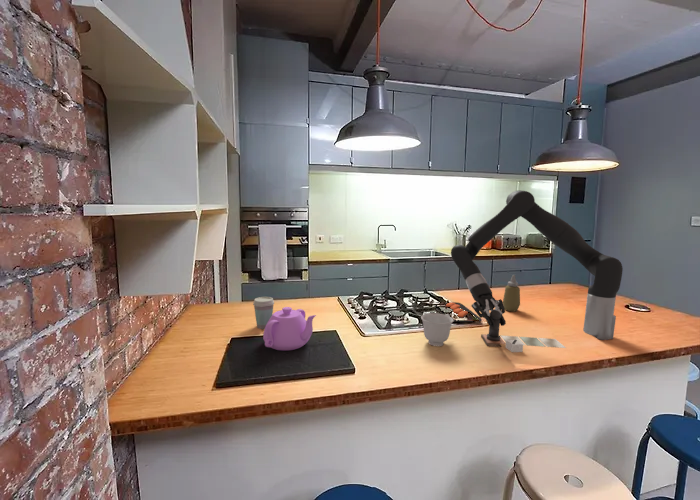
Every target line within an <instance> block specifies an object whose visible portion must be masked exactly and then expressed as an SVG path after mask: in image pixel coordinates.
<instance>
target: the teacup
mask: <svg viewBox="0 0 700 500" xmlns="http://www.w3.org/2000/svg"><path fill="white" fill-rule="evenodd" d="M439 313H440V312H436V313H427V312H426V313H423V314H422V315H421V316H420V319H421V320H422V326H423V335H424V338H425V339H426V340H427V341H428V344H429V345H431V346H432V347H433V346H434V347H443V345H444V343H445V342H446V341H447V340H448V339H449V336H450V333H451V327H452V323H453V322H455V321H454V319H453V318H452V317H450V315H449V314H445V315H444V313H442V314H439Z"/></svg>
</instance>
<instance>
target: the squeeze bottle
mask: <svg viewBox="0 0 700 500" xmlns="http://www.w3.org/2000/svg"><path fill="white" fill-rule="evenodd" d="M502 302H503V305H504V309H505V311H508V312H517V311H518V310H519V308H520V306H521V288H520V287H519V282H518V281H517V279H516V275H515V274H512V276H511V278H510V281H507V285H505V288H504V293H503V298H502Z"/></svg>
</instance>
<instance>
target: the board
mask: <svg viewBox="0 0 700 500" xmlns="http://www.w3.org/2000/svg"><path fill="white" fill-rule="evenodd" d="M499 336H500V341H491V340H488V339H487V334H483V333H482V334H480V338H481V339H482V340H483V342H484V344H485V345H486V346H487V347H495V348H496V347H498V348H502V347H503V346H502V345H506V340H517V341H519V342H521V343H522V344H523V346H531V347H542V348H543V347H547V348H560V349H561V348H562V349H567V347H566V346H564V344H562V343H561V342H560V341H559V340H557V339H556V338H547V337H546V338H545V337H531V336H530V337H529V336H528V337H527V336H517V335H516V336H515V335H514V336H513V335H500V334H499Z"/></svg>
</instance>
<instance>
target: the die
mask: <svg viewBox="0 0 700 500" xmlns="http://www.w3.org/2000/svg"><path fill="white" fill-rule="evenodd" d="M505 343H506V344H505V349H507V350H508V351H509V352H511V353H523V349H524V345H523V344H522V343H521V342H519V341H517V340H506V342H505Z"/></svg>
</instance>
